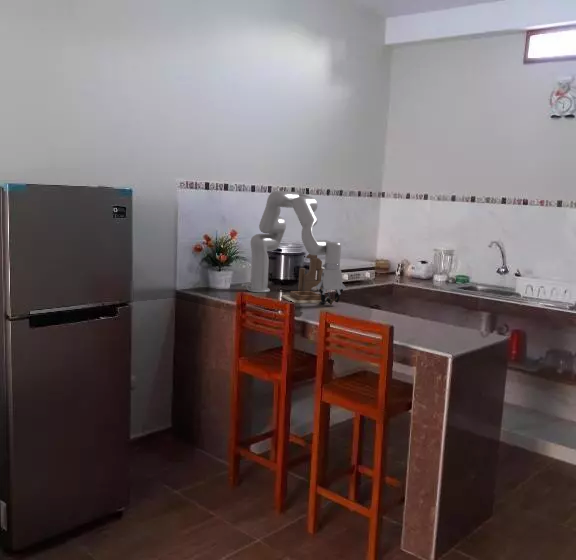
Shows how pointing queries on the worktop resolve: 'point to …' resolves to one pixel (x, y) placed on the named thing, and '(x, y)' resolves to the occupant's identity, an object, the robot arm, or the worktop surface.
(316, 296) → the jig
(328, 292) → the eagle figurine
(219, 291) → the worktop surface
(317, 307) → the worktop surface
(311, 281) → the wooden toy
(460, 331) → the worktop surface
